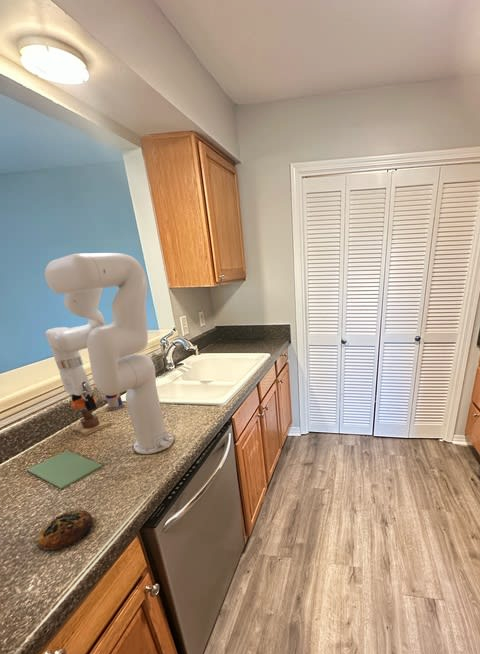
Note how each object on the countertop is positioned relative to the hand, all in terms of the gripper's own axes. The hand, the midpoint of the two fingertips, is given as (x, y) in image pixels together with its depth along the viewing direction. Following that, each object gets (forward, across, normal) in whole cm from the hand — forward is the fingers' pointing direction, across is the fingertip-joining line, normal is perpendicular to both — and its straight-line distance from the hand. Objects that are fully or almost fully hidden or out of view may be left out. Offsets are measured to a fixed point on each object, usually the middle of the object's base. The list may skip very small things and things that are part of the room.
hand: (85, 407), depth 122 cm
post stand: (+9, -1, 0) cm, 9 cm away
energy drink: (+9, -10, +16) cm, 21 cm away
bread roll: (+10, +48, -34) cm, 60 cm away
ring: (-2, 0, 0) cm, 2 cm away
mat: (+9, +19, -20) cm, 29 cm away
